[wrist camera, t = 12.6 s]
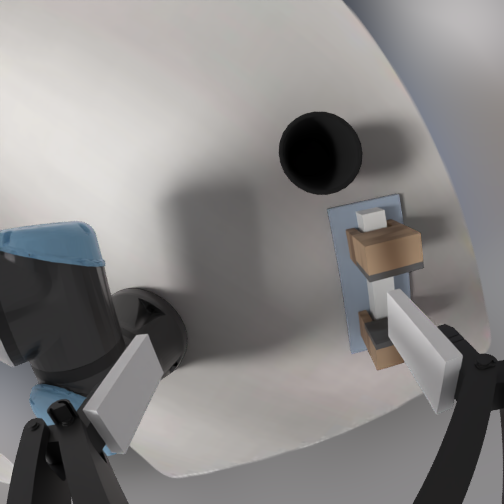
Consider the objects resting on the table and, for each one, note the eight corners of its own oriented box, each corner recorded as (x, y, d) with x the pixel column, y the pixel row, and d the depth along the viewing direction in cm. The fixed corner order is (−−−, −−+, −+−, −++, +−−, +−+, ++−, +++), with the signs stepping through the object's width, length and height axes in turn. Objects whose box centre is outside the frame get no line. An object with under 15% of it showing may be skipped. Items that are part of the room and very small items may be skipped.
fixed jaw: (391, 218, 38) (420, 232, 29) (395, 247, 39) (423, 267, 30) (345, 229, 39) (364, 246, 30) (350, 258, 40) (369, 282, 31)
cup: (295, 197, 39) (305, 209, 28) (265, 145, 38) (262, 135, 26) (346, 170, 38) (376, 171, 26) (318, 118, 36) (336, 98, 25)
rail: (350, 350, 45) (356, 365, 41) (326, 208, 39) (332, 213, 36) (409, 333, 43) (418, 346, 40) (396, 193, 38) (408, 196, 34)
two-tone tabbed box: (360, 335, 43) (377, 370, 34) (358, 311, 42) (375, 344, 33) (401, 323, 42) (424, 355, 33) (400, 300, 41) (425, 329, 32)
